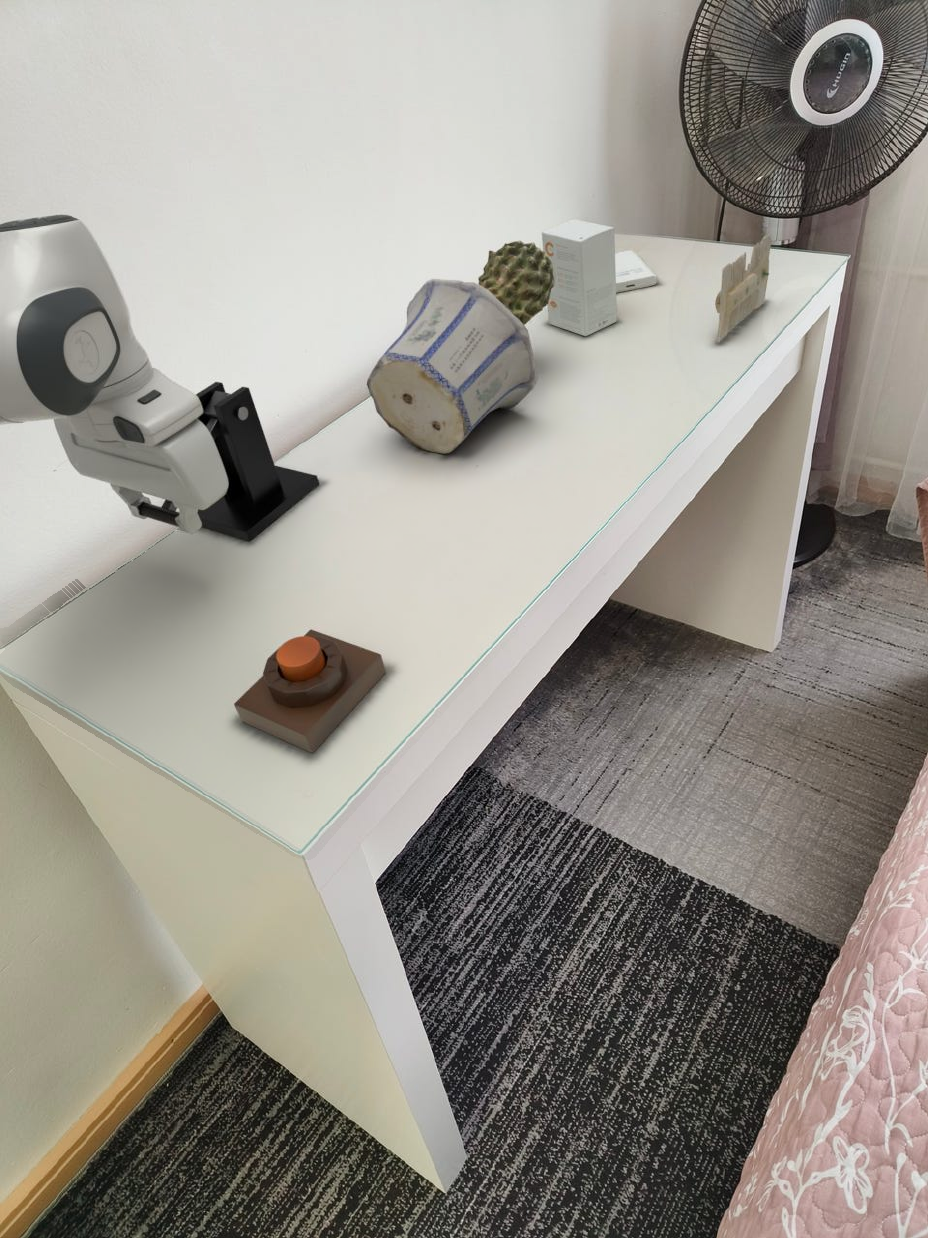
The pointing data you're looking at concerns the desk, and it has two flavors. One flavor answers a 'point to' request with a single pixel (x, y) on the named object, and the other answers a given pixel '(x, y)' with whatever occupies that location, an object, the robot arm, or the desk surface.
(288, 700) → the button block
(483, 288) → the potted plant
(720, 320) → the wooden plank panel
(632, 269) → the hard drive
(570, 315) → the small box
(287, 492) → the bracket
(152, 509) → the lever
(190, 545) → the desk surface
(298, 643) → the button
